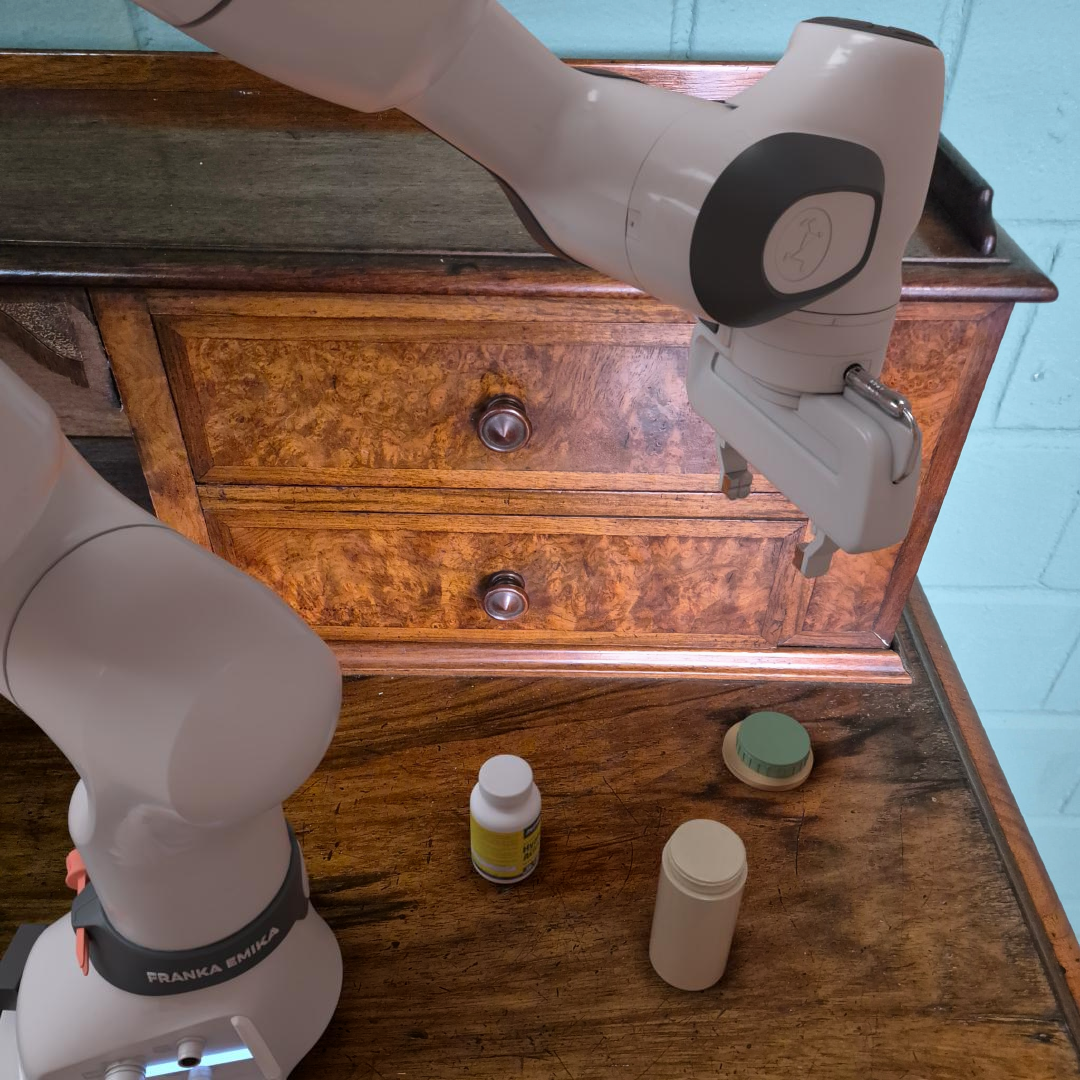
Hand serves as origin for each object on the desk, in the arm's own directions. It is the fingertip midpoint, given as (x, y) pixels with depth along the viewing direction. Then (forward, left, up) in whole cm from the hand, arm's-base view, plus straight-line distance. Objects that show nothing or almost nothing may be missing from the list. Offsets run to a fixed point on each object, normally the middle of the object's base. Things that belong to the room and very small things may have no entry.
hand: (768, 530), depth 63 cm
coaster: (+7, +3, -28) cm, 29 cm away
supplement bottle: (-18, +1, -28) cm, 34 cm away
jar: (-9, -11, -28) cm, 32 cm away
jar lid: (+7, +3, -26) cm, 27 cm away
